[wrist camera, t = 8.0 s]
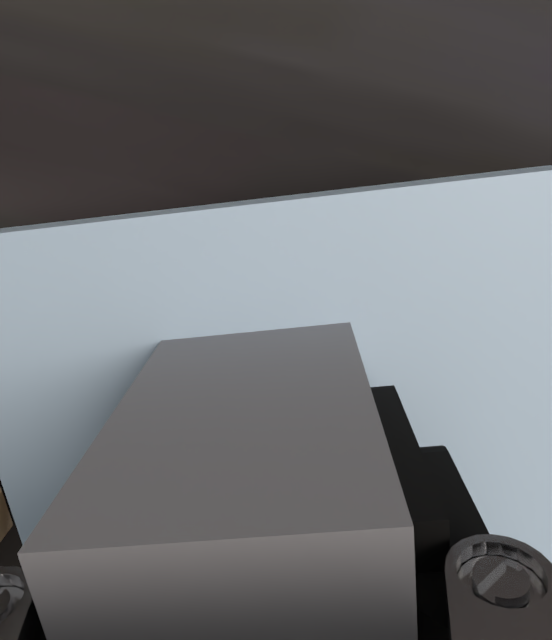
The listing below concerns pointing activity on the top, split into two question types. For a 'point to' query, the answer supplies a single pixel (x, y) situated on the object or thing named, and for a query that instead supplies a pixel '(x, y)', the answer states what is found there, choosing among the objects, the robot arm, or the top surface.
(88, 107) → the top surface
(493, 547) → the robot arm
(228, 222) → the cover plate
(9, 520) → the beech box
